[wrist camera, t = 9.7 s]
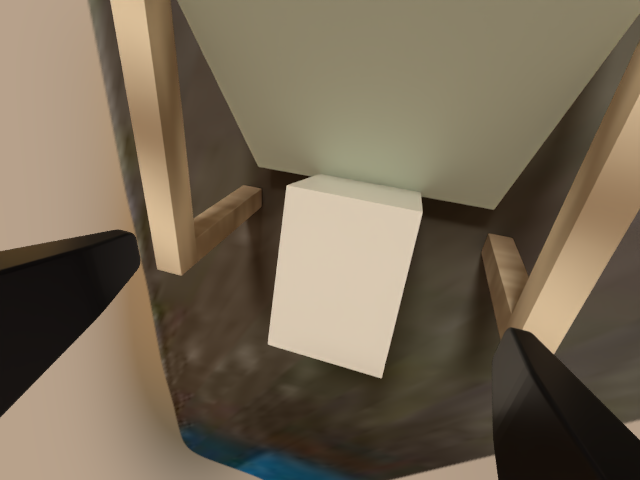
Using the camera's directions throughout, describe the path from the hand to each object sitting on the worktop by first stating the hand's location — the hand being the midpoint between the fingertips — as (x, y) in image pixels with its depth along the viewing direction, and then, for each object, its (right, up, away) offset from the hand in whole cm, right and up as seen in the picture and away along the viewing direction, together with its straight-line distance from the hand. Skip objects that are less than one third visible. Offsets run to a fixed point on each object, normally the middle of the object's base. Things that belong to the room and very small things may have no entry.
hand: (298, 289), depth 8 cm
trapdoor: (+3, +7, +5) cm, 9 cm away
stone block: (+2, +3, +7) cm, 8 cm away
